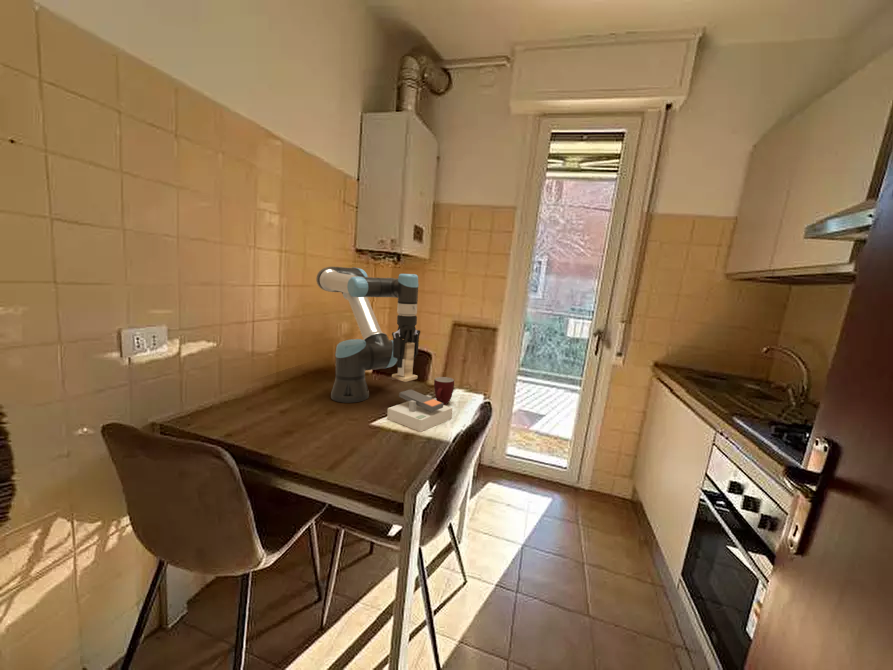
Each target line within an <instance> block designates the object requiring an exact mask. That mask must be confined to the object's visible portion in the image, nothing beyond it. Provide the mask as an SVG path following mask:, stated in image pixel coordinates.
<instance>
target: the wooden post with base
mask: <svg viewBox="0 0 893 670" xmlns="http://www.w3.org/2000/svg"><path fill="white" fill-rule="evenodd" d="M414 346H415V343H413V342H408V341H407V342H406V343H405V350H404V356H403V359H405V364H404V376H400V375H398V372H397V373H391V378H393V379H396V380H398V381H401V382H404V383H407V382H409V381H413V380H417V379H418V375H416V374H412V371H413V368H414V364H413V359H414V360H415V358H414V352H415V351H414Z"/></svg>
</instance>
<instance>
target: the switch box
mask: <svg viewBox="0 0 893 670" xmlns="http://www.w3.org/2000/svg"><path fill="white" fill-rule="evenodd" d="M425 396H428V397H430V398H432V399H433V396H432V395H428V394H427V395H425ZM386 416H387V418H386V419H387V420H390V421H392V422H394V423H397V424H400V425H402V426H405V427H408V428H409V429H412V430H414V431H418V432H419V433H421V432H424V431H426V430H428V429H431V428H433V427H436V426H438V425H441V424H442V423H445V422H447V421H450V420H452V419H453V407H451V406H448V405H443V408H441V409H438V410H436V411H433V412H431V411H429V410H427V409H425V408H423V407H420V406H418V405H416V401H413V400H411V401H406V402H405V401H404V402H402V403H400V404H396V405H393V406H391V407H387V415H386Z"/></svg>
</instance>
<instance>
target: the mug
mask: <svg viewBox="0 0 893 670" xmlns="http://www.w3.org/2000/svg"><path fill="white" fill-rule="evenodd" d="M433 381H434V382H433V389H434V394H435V400H437V401H439V402H441V403H444V404H443V405H445V406H448V404H449V402H450V400H452V396H453V392H454V388H455V379H454V378H452V377H447V376H438V377H434V380H433Z"/></svg>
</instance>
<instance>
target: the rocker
mask: <svg viewBox="0 0 893 670" xmlns="http://www.w3.org/2000/svg"><path fill="white" fill-rule="evenodd" d="M398 397H399V398H401V399H404V400H405V401H406V402H408V401H411V400H413V401H416V405H418V406H420V407H423V408H425V409H427V410H429V411H431V412H433V411H436V410H438V409H441V408H443V404H444V403H441V402H439V401H437V399H436V398H435V399H434V398H433V397H432V398H430V397H428V396H426V395H425V394H422V393H421V392H418V391H416V390H414V389H412V388H411V389H407V390H403V391H400V392H399V393H398Z"/></svg>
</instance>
